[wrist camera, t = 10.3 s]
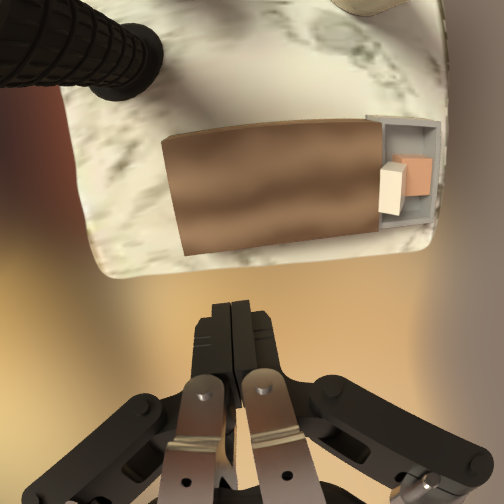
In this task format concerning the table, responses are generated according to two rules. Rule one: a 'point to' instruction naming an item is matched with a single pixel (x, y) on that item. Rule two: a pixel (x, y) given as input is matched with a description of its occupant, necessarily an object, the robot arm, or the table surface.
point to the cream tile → (392, 187)
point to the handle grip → (75, 49)
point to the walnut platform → (274, 182)
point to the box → (411, 142)
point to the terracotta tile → (416, 173)
